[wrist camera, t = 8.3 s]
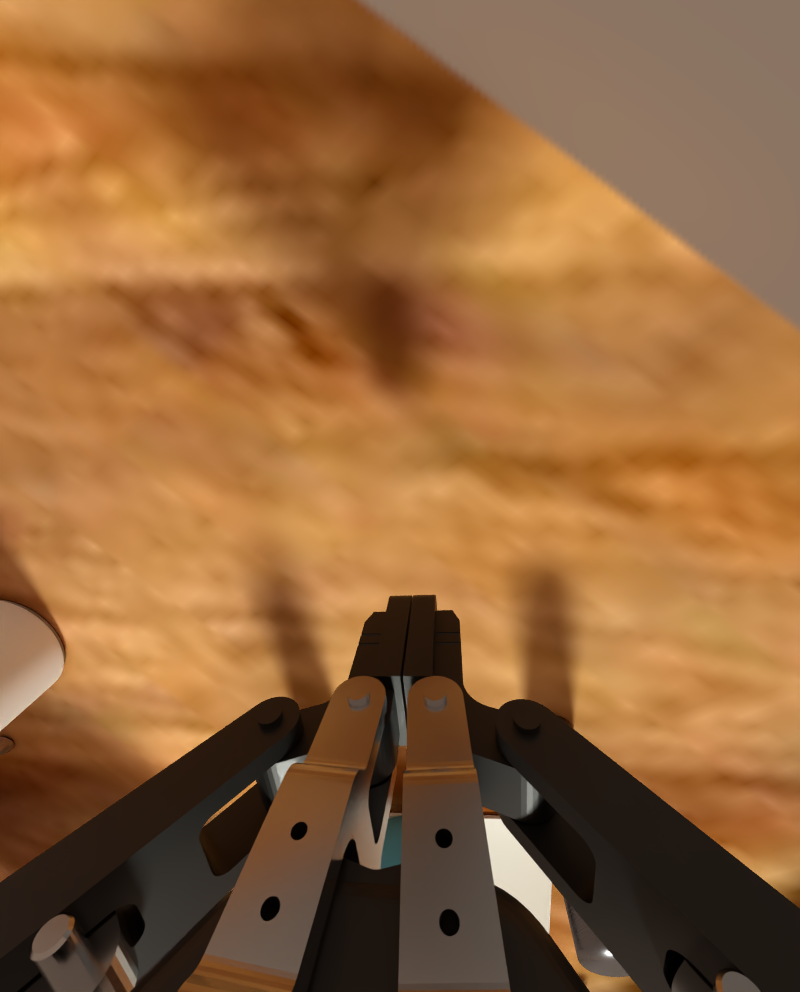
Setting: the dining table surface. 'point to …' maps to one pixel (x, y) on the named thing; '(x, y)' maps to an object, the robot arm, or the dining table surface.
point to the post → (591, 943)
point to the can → (25, 658)
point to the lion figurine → (5, 745)
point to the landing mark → (516, 870)
